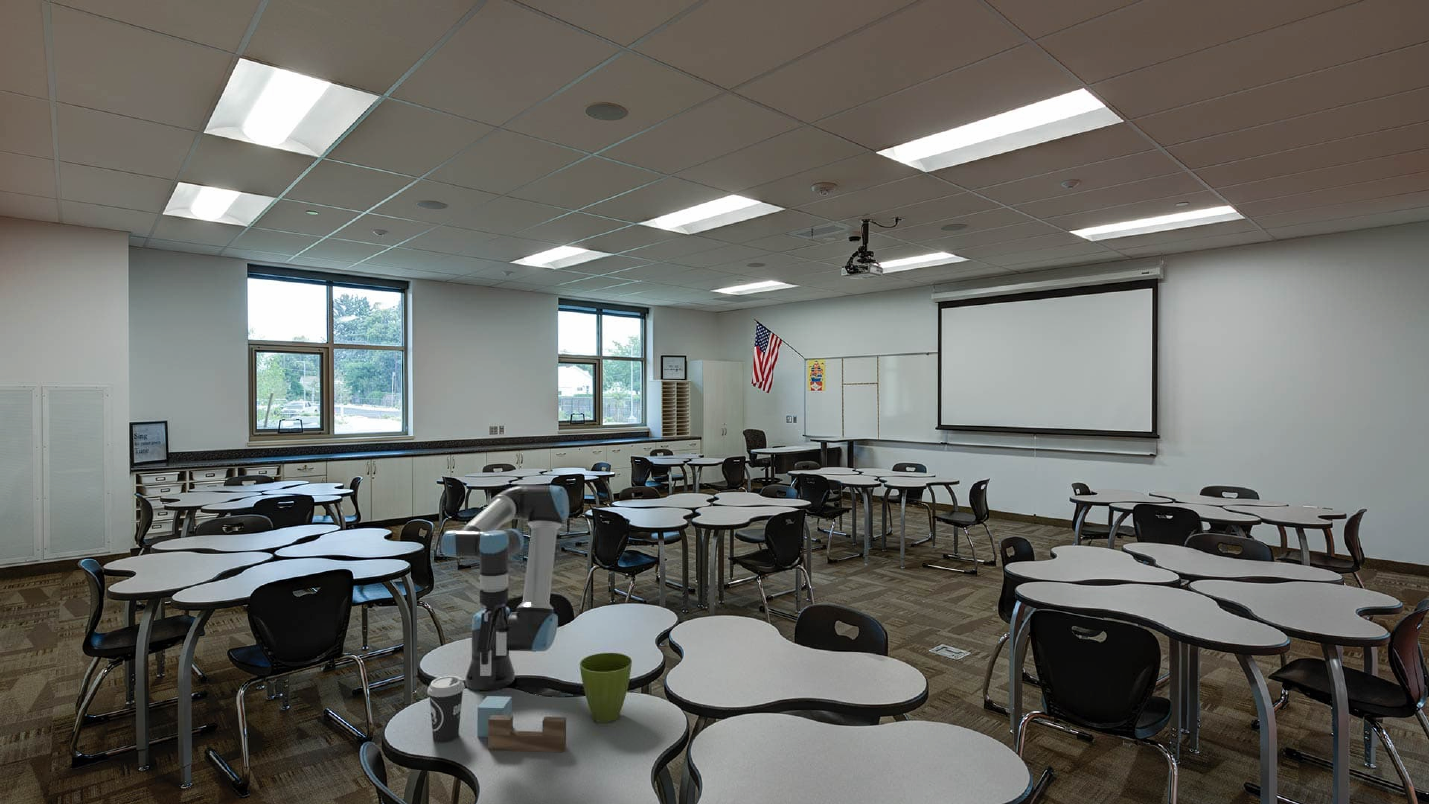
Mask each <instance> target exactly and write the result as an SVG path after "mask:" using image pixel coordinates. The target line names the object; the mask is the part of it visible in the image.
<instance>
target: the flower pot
mask: <svg viewBox="0 0 1429 804" xmlns="http://www.w3.org/2000/svg"><path fill="white" fill-rule="evenodd" d="M632 664H633V660H632V658H631V657H630V656H628V655H625V654H623V653H618V652H601V653H595V654H591V655H588V656H586V657H584V658H583V659H581V661H580V662H579V668H580V677H581V681H582V686H583V690H584V694H585V698H586V702H587V704H588V708H589V710H590V712H591V716H592V718H593V720H594V721H595V722H598V723H610V722H614V721H616V720H617V719H619V717H620V714H621V712H622V708H623V706H624V704H625V700H626V696H627V691H628V688H629V683H630V676H631V671H632Z"/></svg>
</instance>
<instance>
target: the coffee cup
mask: <svg viewBox="0 0 1429 804" xmlns="http://www.w3.org/2000/svg"><path fill="white" fill-rule="evenodd" d="M464 682H465V681H463V679H462V678H461V677H460V676H457V675H446V676H445V675H444V676H441V677H437V678H434V679H433V680H432V681H431V682H430V684H429V686H428V688H427V691H426V693H427V694H428V695H429V708H430V717H431V718H430V720H431V732H432V740H433V741H434V742H436V743H448V742H451V741H454V740H456V739H457V738H458V737H459V733H460V723H461V714H462V713H461V712H462V704H463V703H462V702H463V692H464V689H466V684H465V683H464Z"/></svg>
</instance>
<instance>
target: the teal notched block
mask: <svg viewBox="0 0 1429 804" xmlns="http://www.w3.org/2000/svg"><path fill="white" fill-rule="evenodd" d="M512 699H513V698H512V696H499V695H498V696H497V695H495V696H493V695H490V696H489V695H487V696H486V697H485V698H484V699H483V700H482V701H481V703H480V704H479V705H478V706H477V715H476V716H477V719H476V720H477V727H476V728H477V730H476V731H477V733H476V735H477V737H478V738H479V737H481V738H488V719H489V718H490V717H491V715H505V716H512Z"/></svg>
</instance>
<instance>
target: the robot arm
mask: <svg viewBox="0 0 1429 804" xmlns="http://www.w3.org/2000/svg"><path fill="white" fill-rule="evenodd" d="M569 503H570V500H569V495H568V493H567V490H566V489H565V487H563V486H559V485H552V484H551V485H526V484H525V485H524V484H523V485H516V486H513V487H510V488H507V489H505V490H503V491H501V492H500V493H497V494H496V495H494V497H492V498H491V499H490V500H489V501H488V505H487V506H486V507H485V508H484V509H483V510H482V511H481V512H479V513H478V514H477V515H476V516H475V517H473V519H471V520H470V521H468V523H466V525H464V526H463V527H462V528H461V529H459V530H458V529H457V530H456V529H453V530H452V529H451V530H446V531H445V532H444V534H443V535H442V537H441V540H440V541H441V542H440V543H441V544H440V548H441V553H442V554H443V555H444V556H445V557H449V558H450V557H453V558H455V559H457V558H479V576H478V577H477V580H479V589H480V590H479V604H480V605H482V606H484V607H486V608H485V609H483V610H480V611H478V612H477V613H475V614H474V615H473V617H472V621H471V629H470V630H471V659H470V660H471V661H470V663H469V667H468V669H467V673H466V676H465V687H466V688H467V689H468V690H473V691H477V690H490V691H495V690H494V689H496V690H498V689H497V688H500V689H503V688H505V687H508V686H509V685H511V684H513V683H514V681H515V674H516V673H515V670H514V666H513V663H512V660H511V657H510V652H532V653H533V652H534V653H536V652H547V651H548V650H550V648H551V647H552V645H553V643H554V641H555V638H556V636H557V631H558V625H559V618H558V614H555V613H554V607H553V606H552V605H551V604H550V599H551V590H552V579H553V572H554V571H553V570H554V563H555V562H554V561H555V552H556V544H557V543H556V542H557V533H558V530H559V529H561V528H562V526H563V521H566V520H568V518H569V516H570V504H569ZM512 520H527V523H526V524H527V525H528V527H529V528H530V530H531V531H530V538H529V546H528V553H527V555H528V556H527V562H526V563H527V564H526V571H525V579H524V580H525V581H524V589H523V597H522V602H521V603H520V604H519V605H518V606H517V607H516V612H511V610H510V608H509V607H508V606H507V602H509V588H508V587H509V560H510V559H512V558H513V557H514V556H517V555H518V554H519V552H520V551H521V550H522V549H523V546H524V543H525V539H524V536H523V534H522V532H520V531H519V530H517V529H515V528H508V529H504V530H501V529H500V530H498V529H499V528H500V527H501V526H502V525H504V524H506V523H509V522H511V521H512Z"/></svg>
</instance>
